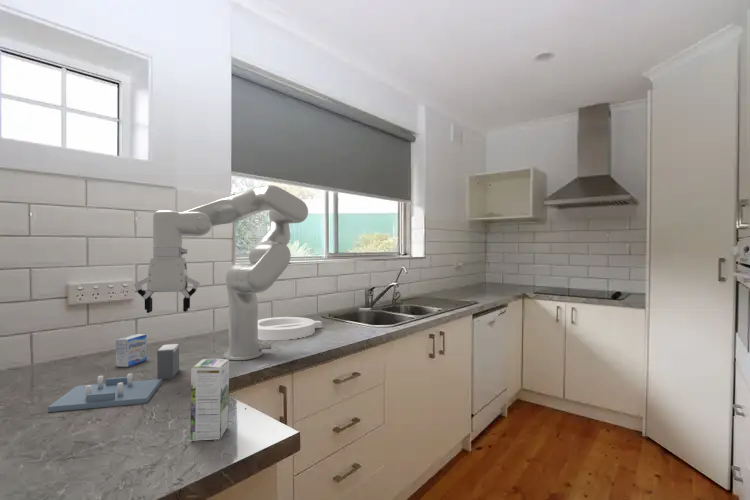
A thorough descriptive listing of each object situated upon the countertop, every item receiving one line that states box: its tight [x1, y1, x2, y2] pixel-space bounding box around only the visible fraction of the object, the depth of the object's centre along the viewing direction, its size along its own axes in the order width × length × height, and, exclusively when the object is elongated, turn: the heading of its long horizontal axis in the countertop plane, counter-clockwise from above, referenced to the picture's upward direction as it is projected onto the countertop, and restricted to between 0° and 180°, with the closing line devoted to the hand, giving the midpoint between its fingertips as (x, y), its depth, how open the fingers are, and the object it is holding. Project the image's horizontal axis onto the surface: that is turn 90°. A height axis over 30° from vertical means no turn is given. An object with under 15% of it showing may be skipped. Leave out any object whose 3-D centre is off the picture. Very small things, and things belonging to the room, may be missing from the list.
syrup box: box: [189, 358, 230, 440], centre depth 79 cm, size 6×6×14 cm
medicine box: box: [115, 333, 148, 368], centre depth 127 cm, size 8×4×9 cm, turn 168°
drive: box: [156, 343, 180, 380], centre depth 117 cm, size 4×8×8 cm, turn 15°
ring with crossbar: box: [258, 316, 323, 341], centre depth 172 cm, size 28×28×5 cm
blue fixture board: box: [47, 372, 163, 413], centre depth 99 cm, size 20×14×4 cm
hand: (167, 311), depth 116 cm, fingers open, 9 cm apart
